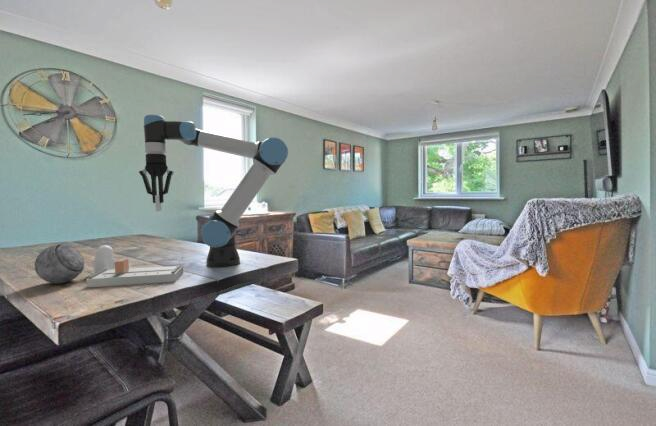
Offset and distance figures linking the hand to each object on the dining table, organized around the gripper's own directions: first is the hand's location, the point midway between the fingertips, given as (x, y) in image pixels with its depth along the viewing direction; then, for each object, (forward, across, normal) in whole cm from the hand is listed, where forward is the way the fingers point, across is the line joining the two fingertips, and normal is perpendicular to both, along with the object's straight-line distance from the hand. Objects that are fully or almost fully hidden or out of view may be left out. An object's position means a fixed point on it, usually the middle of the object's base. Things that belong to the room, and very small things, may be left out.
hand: (158, 210), depth 138 cm
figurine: (+27, +24, -6) cm, 36 cm away
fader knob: (+23, +12, +9) cm, 27 cm away
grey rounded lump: (+27, +34, +6) cm, 44 cm away
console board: (+26, +6, +9) cm, 28 cm away
